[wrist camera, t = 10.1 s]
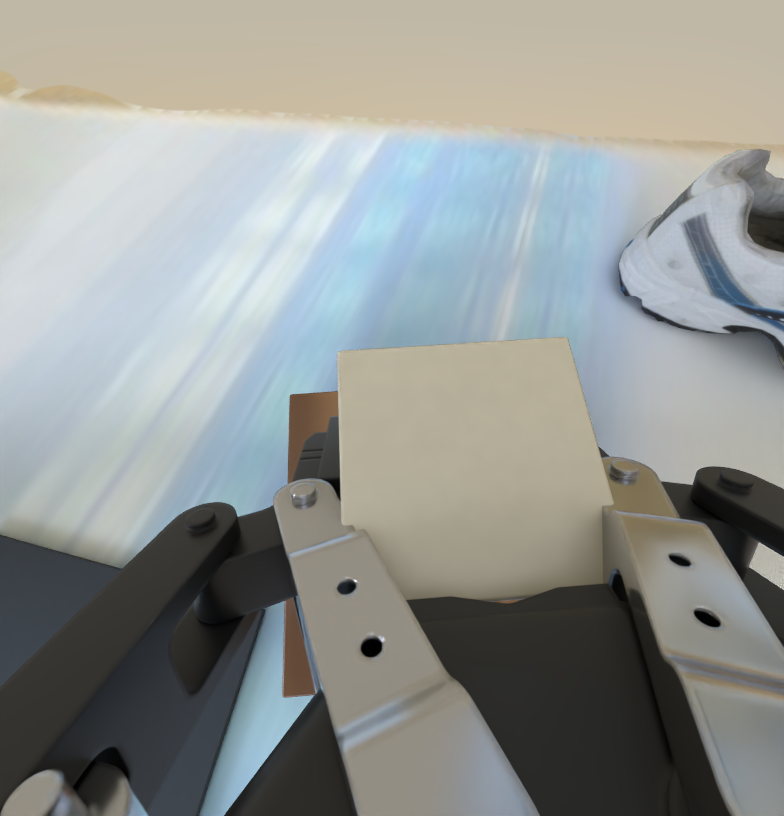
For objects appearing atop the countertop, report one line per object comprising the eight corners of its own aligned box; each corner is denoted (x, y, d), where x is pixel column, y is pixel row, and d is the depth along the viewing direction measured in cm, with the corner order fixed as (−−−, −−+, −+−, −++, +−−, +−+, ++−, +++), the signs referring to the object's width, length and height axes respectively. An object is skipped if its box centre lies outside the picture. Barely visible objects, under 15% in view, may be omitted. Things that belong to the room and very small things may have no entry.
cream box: (368, 587, 14) (343, 614, 6) (361, 450, 16) (336, 349, 8) (507, 575, 14) (640, 590, 7) (484, 442, 16) (568, 335, 8)
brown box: (313, 660, 20) (281, 698, 14) (313, 433, 24) (289, 394, 18) (549, 639, 20) (609, 669, 14) (505, 419, 24) (539, 376, 19)
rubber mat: (-199, 864, 17) (-212, 871, 16) (-3, 534, 22) (-10, 533, 21) (139, 995, 15) (133, 1006, 15) (265, 609, 20) (263, 610, 20)
